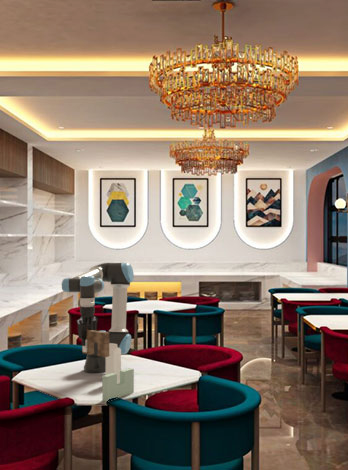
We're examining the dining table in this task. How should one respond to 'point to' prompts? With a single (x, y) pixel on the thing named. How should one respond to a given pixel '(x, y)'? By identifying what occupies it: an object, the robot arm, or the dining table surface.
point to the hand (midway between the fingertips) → (87, 351)
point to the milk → (114, 361)
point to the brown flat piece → (99, 338)
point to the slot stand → (117, 390)
